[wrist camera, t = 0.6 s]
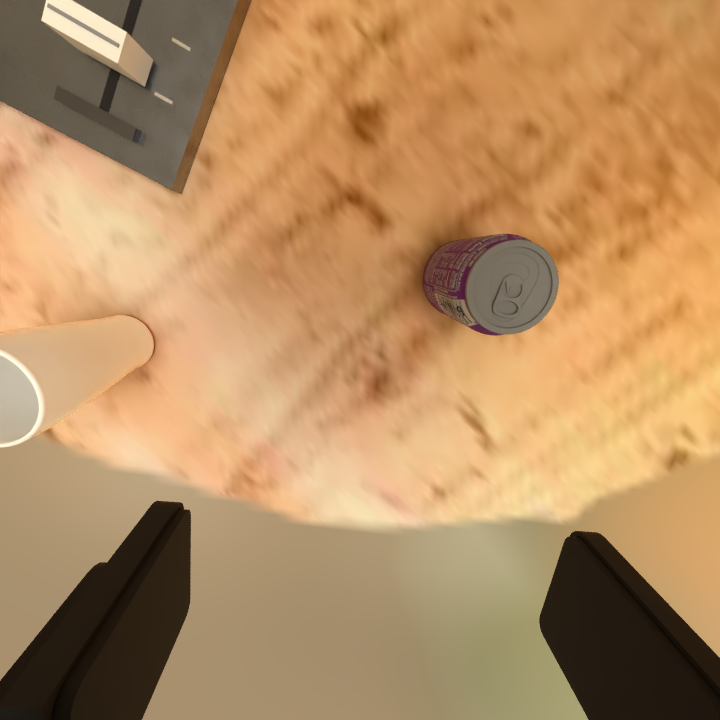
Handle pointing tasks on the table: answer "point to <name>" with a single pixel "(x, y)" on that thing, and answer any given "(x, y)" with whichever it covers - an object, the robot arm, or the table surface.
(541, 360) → the table surface
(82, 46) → the fader
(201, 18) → the console
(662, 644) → the robot arm
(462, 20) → the table surface
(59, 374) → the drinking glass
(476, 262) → the beverage can
